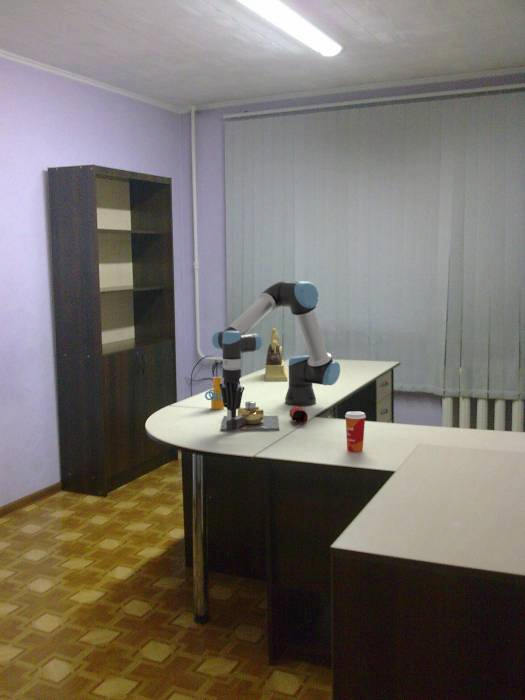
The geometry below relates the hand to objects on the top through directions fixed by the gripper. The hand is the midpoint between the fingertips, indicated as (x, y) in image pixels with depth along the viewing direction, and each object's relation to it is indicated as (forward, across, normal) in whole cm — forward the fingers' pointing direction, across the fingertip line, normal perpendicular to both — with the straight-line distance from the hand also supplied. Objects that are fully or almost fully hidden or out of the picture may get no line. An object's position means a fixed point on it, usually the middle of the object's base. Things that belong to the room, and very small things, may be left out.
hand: (231, 425), depth 295 cm
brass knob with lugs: (+1, 0, +7) cm, 7 cm away
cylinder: (+3, -37, +25) cm, 44 cm away
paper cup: (+2, +56, +10) cm, 57 cm away
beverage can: (+2, +10, +30) cm, 32 cm away
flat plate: (+2, -2, +13) cm, 13 cm away
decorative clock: (+4, -79, +110) cm, 135 cm away
